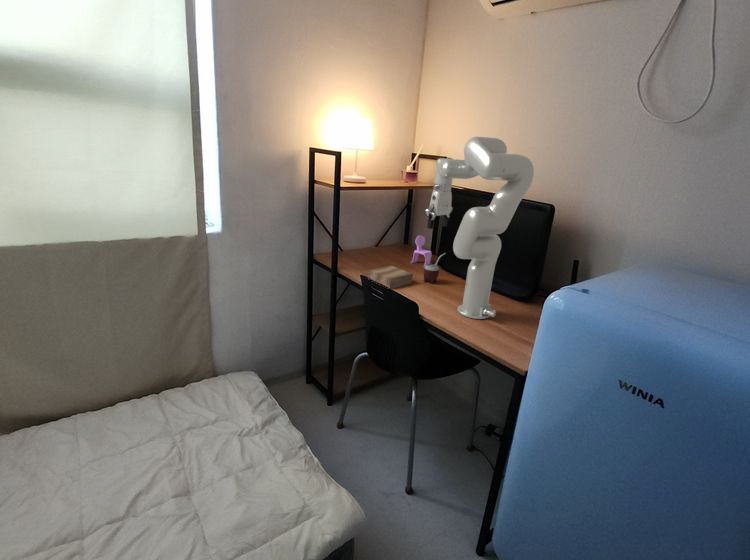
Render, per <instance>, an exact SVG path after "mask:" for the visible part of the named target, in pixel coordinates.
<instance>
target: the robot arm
mask: <svg viewBox="0 0 750 560" xmlns="http://www.w3.org/2000/svg"><path fill="white" fill-rule="evenodd" d="M507 147H508V146H507V145H506V143H505V142H504V141H503V139H499V138H498V137H497V138H496V137H489V136H487V137H486V136H473V137H471V138H469V139H468V140H467V142H466V143H465V145H464V148H463V149H464V150H463V156H464V159H454V158H453V159H451V158H444V157H441V158H438V159H437V160H436V163H435V164H436V165H435V171H434V181H433V189H432V193H431V197H430V202H429V207H428V208H426V209H425V215H426V217H427V218H426V219H427V226H426V228H427V229H431V230H433V229H434V228H435V218H436V217H437V216H438V217H439V216H442V217H441V223H440V226H441V227H444V228H447V227H448V225H449V218H450V215H451V214H452V212H453V208H454V207H452V203H453V202H452V199H453V196H452V195H453V194H452V184H453V179H454V180H455V179H457V180H461V179H462V180H470V179H473V178H475V177H479V176H480V177H481V178H482V179H484V180H488V181H505V182H506V181H507V182H506V183H505V184H504V185H502V186H501V187H500V188H499V189H498V190H497V191H496V193H495V194H494V195H493V198H492V199H491V202H490V204H489V205H487V206H475V207H471V208H469V209H468V210H467V211H466V212H465V214H464V215H463V217H462V220H461V222H460V224H459V227H458V229H457V232H456V235H455V237H454V240H453V243H452V244H453V245H452V251H453V253H454V255H455V256H456V258H458V259H461V260H471V261H470V263H469V265H468V267H467V273H466V279H465V286H464V290H463V299H462V304H460V305H458V306H457V312H458V313H459V314H460V315H462V316H463V317H466V318H470V319H474V320H485V319H488V318H490V317H492V318H496V314H497V310H495V309H492V308H491V307H492V305H491V303H489V301H490V296H491V290H492V284H493V279H494V273H495V268H496V265H497V261H498V258H499V255H500V252H501V250H502V240H501V238H500V237H499V235H500V234H501V235H502V233H504V232H505V231H506V230H507V229H508V226H509V225H510V223H511V221H512V219H513V217H514V215H515V212H516V211H517V208H518V207H519V205H520V203H521V201H522V200H523V198H524V197H525V196H526V194H527V192H528V191H529V189H530V187H531V185H532V183H533V179H534V171H535V170H534V165H533V162H532V161H531V159H529V157H527V156H525V155H522V154H521V155H520V154H518V153H517V154H516V153H515V154H514V153H507V152H508V148H507Z"/></svg>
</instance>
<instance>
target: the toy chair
mask: <svg viewBox="0 0 750 560" xmlns="http://www.w3.org/2000/svg"><path fill="white" fill-rule="evenodd" d="M414 242H415V245H416V249H415V250H414V252H413V255H412V256H413V257H412V260H411V262H410V264H414V263H417V261H418V262H419V256H420V255H423V256H424V259H425V262H424V264H423V266H422V267H423V268H425V266H426V265H427V264H431V260H432V254H433V253H432V251H431V250H428V249H424V248H422V247H423V246H424V245H425V242H426V238H425V237H424V236H423V235H421V234H420V235H417V237H416V238H415V241H414Z"/></svg>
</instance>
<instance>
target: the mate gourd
mask: <svg viewBox="0 0 750 560" xmlns="http://www.w3.org/2000/svg"><path fill="white" fill-rule="evenodd" d="M446 253H447V252H444V253H443V254H440V255H439V256H438V257H437V260H436V262H435V263H434V264H433V263H430V264H427V265H426V266H425V267H423V283H430V284H431V285H434V283H437V279H438V277H439V273H440V268H439V266H438V263H439V261H440V259H441V257H443V256H444V255H446Z"/></svg>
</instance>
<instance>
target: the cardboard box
mask: <svg viewBox="0 0 750 560" xmlns="http://www.w3.org/2000/svg"><path fill="white" fill-rule="evenodd" d="M369 277H370V278H372V279H373V280H376V281H378V282H380V283H382V284H384V285H386V286H388V287H390V288H391V289H394V288H399V287H402V286H405V285H406V286H407V285H410V284H413V273H412V272H409V271H407V270H404V269H402V268H400V267H396V266H394V265H388V266H382V267H378V268H374V269H373V268H372V269H369V270H368V278H369Z"/></svg>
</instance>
